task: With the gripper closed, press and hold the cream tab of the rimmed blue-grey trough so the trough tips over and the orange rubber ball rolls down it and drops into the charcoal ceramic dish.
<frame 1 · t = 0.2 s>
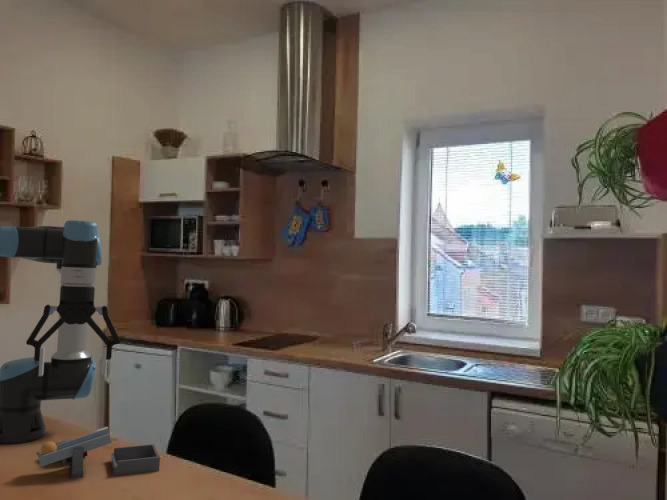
hand: (72, 374, 134), 28 cm above the table, fingers open, 13 cm apart
toy: (64, 458, 156), on the table
stand: (76, 471, 145), on the table
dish: (134, 465, 151), on the table
ball: (48, 448, 142), point 7 cm above the table, tilted 25°, touching rimmed blue-grey trough
rimmed blue-grey trough: (75, 443, 148), point 7 cm above the table, hinge at 15.0°, touching ball
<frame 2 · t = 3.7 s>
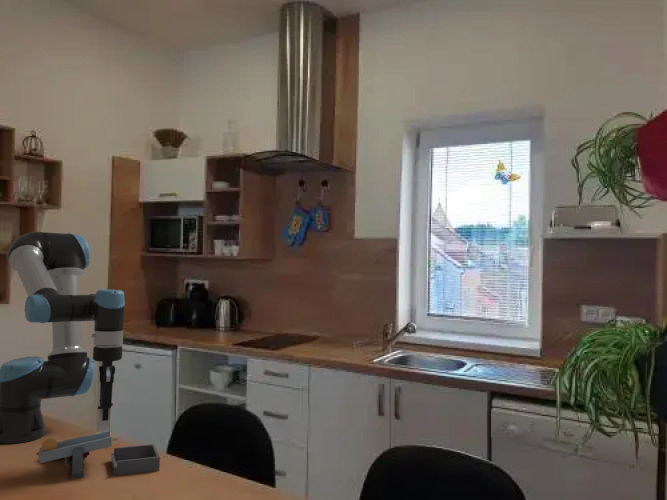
hand: (104, 431, 154), 8 cm above the table, fingers closed
ball: (49, 446, 142), point 7 cm above the table, tilted 18°
rimmed blue-grey trough: (75, 442, 148), point 7 cm above the table, hinge at 8.7°, touching gripper
everything else where it was.
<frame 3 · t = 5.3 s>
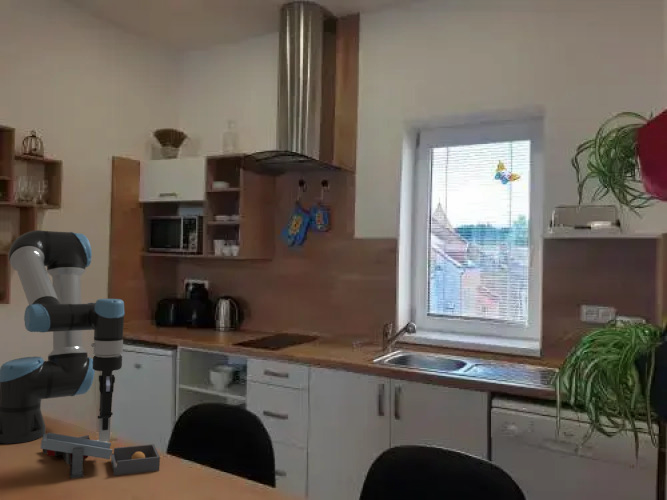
hand: (104, 440, 154), 5 cm above the table, fingers closed
ball: (138, 458, 152), point 2 cm above the table, tilted 54°
rimmed blue-grey trough: (77, 442, 148), point 7 cm above the table, hinge at -15.3°, touching gripper
everything else where it was.
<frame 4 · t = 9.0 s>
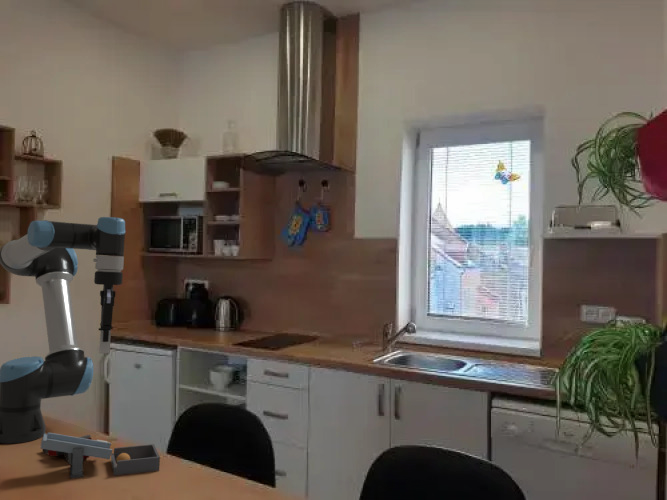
hand: (104, 352, 161), 28 cm above the table, fingers closed
ball: (123, 460, 150), point 2 cm above the table, tilted 68°
rimmed blue-grey trough: (77, 442, 148), point 7 cm above the table, hinge at -15.3°
everything else where it was.
at the end: ball inside the target area on the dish (3.0 cm from its centre), point 1.8 cm above the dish's base; rimmed blue-grey trough at -15° (first picture: +15°) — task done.
